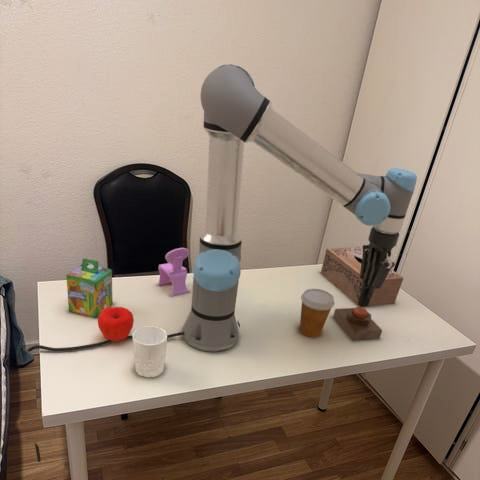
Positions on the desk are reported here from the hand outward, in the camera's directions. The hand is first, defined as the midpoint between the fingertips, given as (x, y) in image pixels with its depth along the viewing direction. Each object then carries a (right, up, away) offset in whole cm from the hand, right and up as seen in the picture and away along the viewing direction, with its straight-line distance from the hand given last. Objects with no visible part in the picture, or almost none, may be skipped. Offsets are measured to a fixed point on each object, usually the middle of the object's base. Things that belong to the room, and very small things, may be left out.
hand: (362, 305), depth 129 cm
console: (-1, -7, +4) cm, 8 cm away
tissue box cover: (+5, +7, +28) cm, 30 cm away
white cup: (-58, -16, -23) cm, 65 cm away
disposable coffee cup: (-16, -8, 0) cm, 18 cm away
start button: (-1, -3, +2) cm, 4 cm away
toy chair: (-58, +6, +12) cm, 60 cm away
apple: (-69, -9, -14) cm, 71 cm away
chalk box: (-79, -1, -3) cm, 79 cm away
